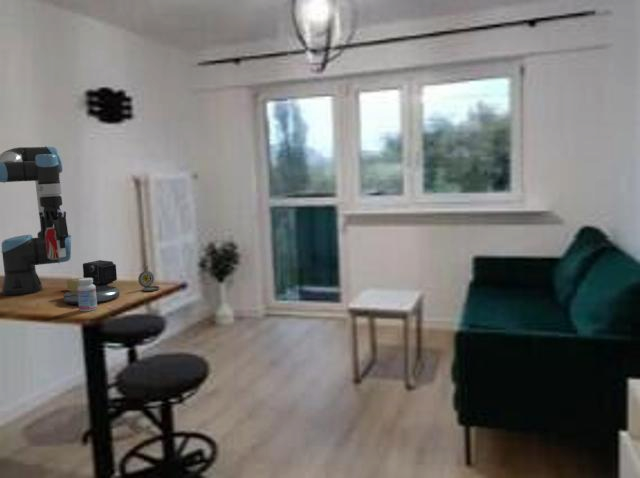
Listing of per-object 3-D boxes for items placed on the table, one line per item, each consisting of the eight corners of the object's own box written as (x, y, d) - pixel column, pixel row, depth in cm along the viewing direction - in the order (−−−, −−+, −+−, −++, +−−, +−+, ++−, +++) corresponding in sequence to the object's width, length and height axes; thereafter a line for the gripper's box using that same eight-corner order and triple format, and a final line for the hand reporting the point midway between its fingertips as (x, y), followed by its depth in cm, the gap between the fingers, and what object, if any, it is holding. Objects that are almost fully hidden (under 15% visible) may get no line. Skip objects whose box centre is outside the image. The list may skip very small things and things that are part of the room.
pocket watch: (154, 292, 225) (152, 267, 223) (135, 291, 227) (133, 267, 225) (164, 287, 233) (162, 263, 231) (145, 287, 234) (143, 263, 233)
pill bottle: (75, 311, 198) (72, 280, 197) (88, 307, 204) (85, 277, 202) (88, 312, 196) (85, 281, 195) (101, 308, 202) (98, 277, 200)
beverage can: (53, 260, 208) (50, 228, 206) (44, 259, 211) (41, 228, 210) (69, 258, 213) (65, 226, 212) (60, 257, 216) (56, 226, 215)
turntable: (47, 300, 214) (45, 285, 213) (91, 289, 231) (90, 275, 230) (87, 305, 202) (85, 289, 202) (130, 293, 220) (129, 278, 219)
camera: (81, 289, 240) (101, 289, 231) (77, 263, 239) (96, 262, 230) (103, 284, 248) (123, 284, 239) (99, 259, 247) (119, 258, 238)
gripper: (26, 196, 211) (32, 257, 214) (56, 195, 201) (62, 259, 204) (45, 195, 218) (51, 254, 220) (75, 194, 207) (81, 256, 210)
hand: (56, 256), depth 212 cm, fingers closed on beverage can, 6 cm apart
